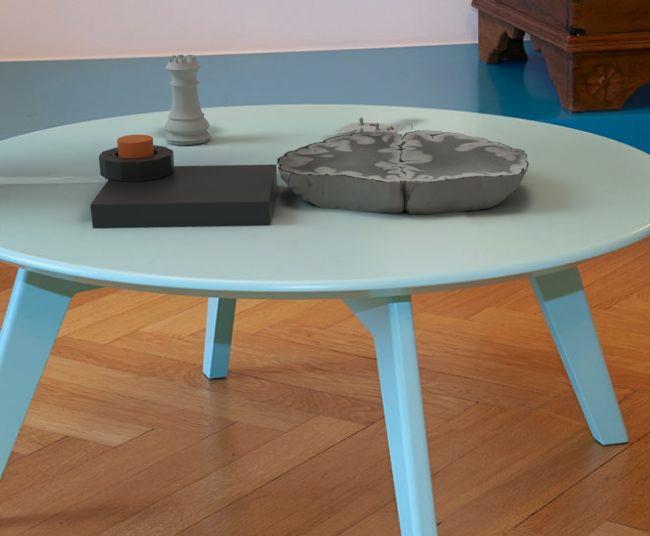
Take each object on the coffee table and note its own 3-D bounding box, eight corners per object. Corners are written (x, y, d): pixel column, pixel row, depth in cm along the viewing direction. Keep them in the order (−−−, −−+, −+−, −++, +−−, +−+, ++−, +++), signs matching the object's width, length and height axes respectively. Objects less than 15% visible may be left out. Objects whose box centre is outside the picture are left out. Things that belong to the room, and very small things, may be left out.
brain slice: (514, 163, 99) (516, 129, 97) (535, 220, 83) (537, 180, 82) (290, 164, 100) (289, 131, 99) (268, 220, 84) (267, 181, 83)
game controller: (330, 154, 103) (329, 125, 102) (356, 128, 113) (356, 102, 112) (391, 156, 102) (391, 127, 101) (412, 130, 112) (412, 103, 111)
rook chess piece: (185, 148, 106) (179, 61, 103) (155, 141, 109) (148, 57, 106) (220, 139, 109) (216, 55, 106) (190, 133, 112) (184, 51, 109)
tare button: (115, 162, 89) (113, 142, 88) (122, 153, 91) (120, 134, 91) (151, 161, 89) (149, 142, 88) (156, 153, 91) (155, 134, 91)
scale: (81, 229, 83) (76, 183, 82) (111, 187, 94) (107, 145, 93) (270, 226, 83) (268, 179, 81) (277, 184, 94) (276, 142, 92)
